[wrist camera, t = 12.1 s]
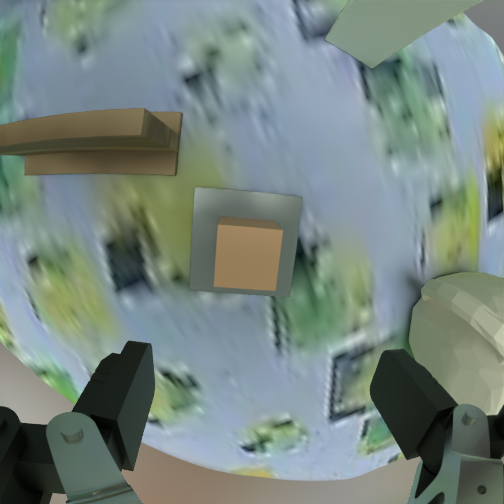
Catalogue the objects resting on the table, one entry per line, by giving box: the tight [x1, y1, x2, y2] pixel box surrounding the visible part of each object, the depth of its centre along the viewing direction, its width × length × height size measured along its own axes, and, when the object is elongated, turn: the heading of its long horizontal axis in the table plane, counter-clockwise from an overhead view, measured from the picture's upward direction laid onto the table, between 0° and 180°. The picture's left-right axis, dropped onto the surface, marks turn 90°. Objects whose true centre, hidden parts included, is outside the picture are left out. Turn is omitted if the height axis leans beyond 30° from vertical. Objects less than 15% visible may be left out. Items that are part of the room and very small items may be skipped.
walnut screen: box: [0, 108, 183, 175], centre depth 20 cm, size 6×18×12 cm, turn 84°
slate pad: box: [189, 187, 303, 297], centre depth 28 cm, size 10×10×1 cm
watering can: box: [409, 272, 504, 415], centre depth 24 cm, size 16×27×19 cm, turn 51°
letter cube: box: [214, 216, 283, 291], centre depth 26 cm, size 5×5×5 cm
